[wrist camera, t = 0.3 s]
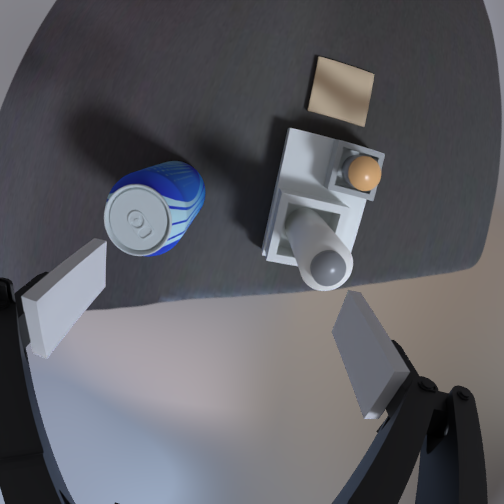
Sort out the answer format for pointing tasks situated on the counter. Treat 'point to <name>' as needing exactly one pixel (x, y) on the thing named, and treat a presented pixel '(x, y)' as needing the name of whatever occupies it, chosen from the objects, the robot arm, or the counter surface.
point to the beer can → (153, 208)
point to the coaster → (341, 91)
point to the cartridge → (317, 250)
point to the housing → (315, 190)
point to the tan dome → (361, 172)
